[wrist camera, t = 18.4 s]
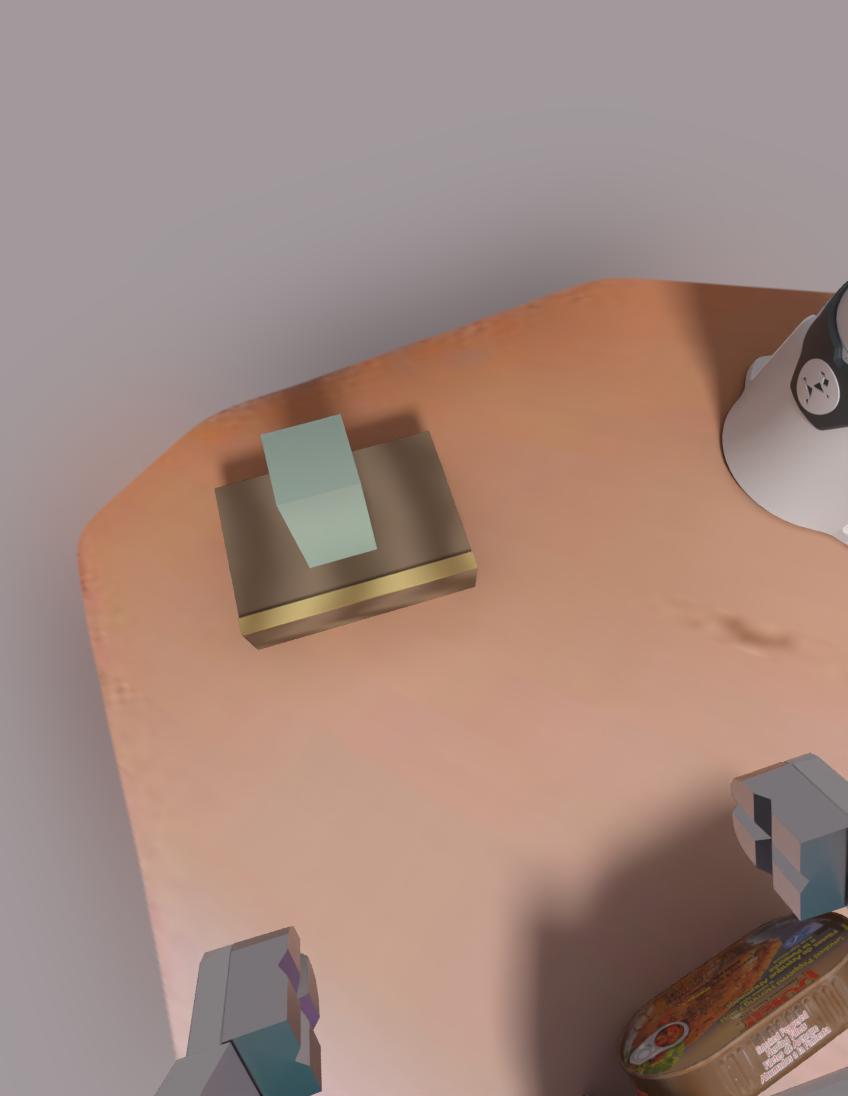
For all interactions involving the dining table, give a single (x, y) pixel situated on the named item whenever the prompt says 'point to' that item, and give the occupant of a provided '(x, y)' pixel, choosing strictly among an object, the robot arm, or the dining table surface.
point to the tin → (744, 1013)
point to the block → (319, 490)
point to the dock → (358, 581)
